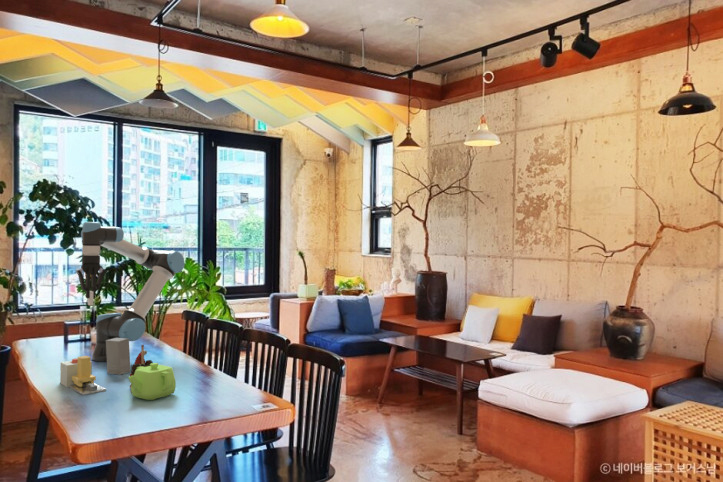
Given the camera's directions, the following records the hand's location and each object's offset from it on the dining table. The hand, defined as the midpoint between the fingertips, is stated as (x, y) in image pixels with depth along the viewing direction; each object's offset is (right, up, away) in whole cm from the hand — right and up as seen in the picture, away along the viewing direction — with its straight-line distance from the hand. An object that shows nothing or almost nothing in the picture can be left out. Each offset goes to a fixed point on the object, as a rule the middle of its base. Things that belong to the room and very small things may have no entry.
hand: (90, 305), depth 258 cm
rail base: (+14, -31, -32) cm, 47 cm away
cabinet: (+5, -31, -23) cm, 39 cm away
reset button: (+5, -25, -23) cm, 35 cm away
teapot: (+44, -32, -42) cm, 68 cm away
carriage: (+12, -30, -29) cm, 43 cm away
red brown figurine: (+36, -32, -29) cm, 55 cm away
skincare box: (+15, -31, -5) cm, 35 cm away
